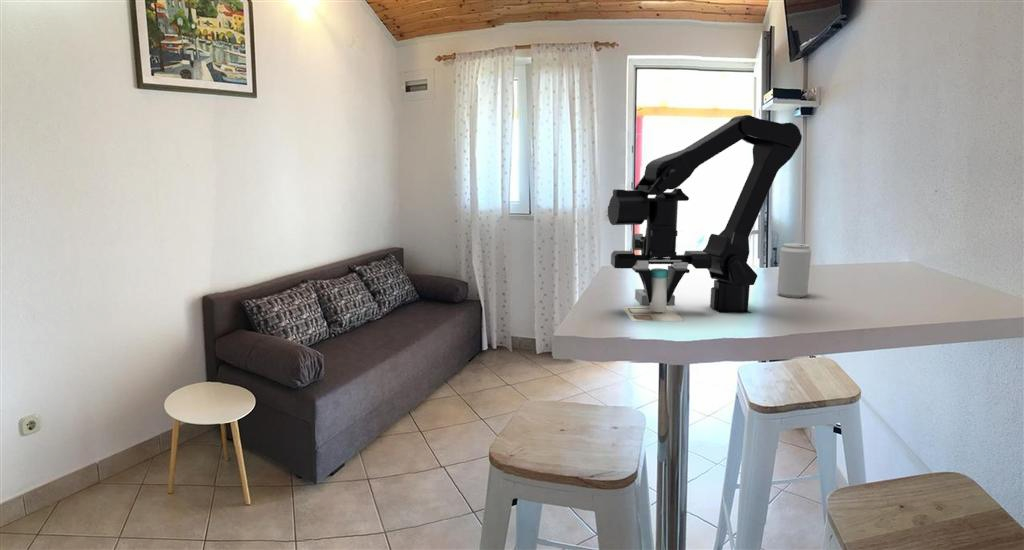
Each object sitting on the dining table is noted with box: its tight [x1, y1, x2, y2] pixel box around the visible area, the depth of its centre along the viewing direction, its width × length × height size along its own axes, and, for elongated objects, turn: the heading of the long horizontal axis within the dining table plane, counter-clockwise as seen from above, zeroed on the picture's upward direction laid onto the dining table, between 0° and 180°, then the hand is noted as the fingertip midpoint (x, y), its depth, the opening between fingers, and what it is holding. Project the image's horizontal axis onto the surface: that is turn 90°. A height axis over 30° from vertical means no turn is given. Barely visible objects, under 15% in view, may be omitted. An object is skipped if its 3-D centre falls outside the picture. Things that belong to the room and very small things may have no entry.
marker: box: [649, 267, 668, 312], centre depth 119 cm, size 3×3×8 cm
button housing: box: [634, 288, 676, 306], centre depth 130 cm, size 7×7×2 cm
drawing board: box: [621, 305, 686, 322], centre depth 120 cm, size 12×14×1 cm
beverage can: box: [776, 242, 812, 299], centre depth 138 cm, size 6×6×12 cm
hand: (658, 302), depth 120 cm, fingers closed on marker, 3 cm apart
